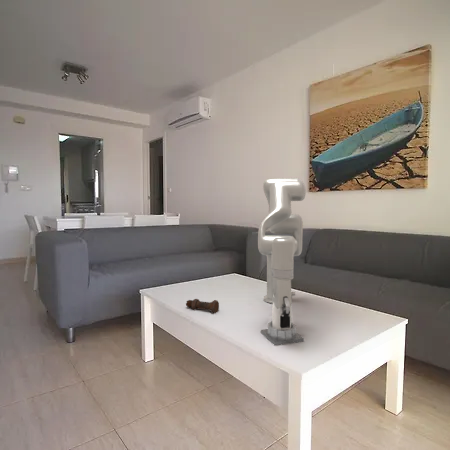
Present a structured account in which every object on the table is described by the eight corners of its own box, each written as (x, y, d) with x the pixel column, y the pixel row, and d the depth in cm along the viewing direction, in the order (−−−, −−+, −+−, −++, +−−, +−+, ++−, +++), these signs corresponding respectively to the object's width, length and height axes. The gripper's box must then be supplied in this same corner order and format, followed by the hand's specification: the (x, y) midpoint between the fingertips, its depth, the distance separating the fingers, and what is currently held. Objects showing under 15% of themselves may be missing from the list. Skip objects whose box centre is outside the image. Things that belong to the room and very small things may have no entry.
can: (268, 332, 107) (268, 299, 107) (281, 328, 111) (281, 296, 111) (281, 338, 102) (282, 303, 102) (294, 334, 106) (295, 300, 105)
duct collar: (287, 329, 113) (287, 318, 113) (303, 341, 103) (304, 329, 103) (260, 332, 110) (260, 321, 110) (274, 345, 100) (274, 333, 99)
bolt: (188, 311, 139) (217, 315, 132) (182, 308, 135) (212, 312, 128) (191, 298, 141) (220, 301, 135) (186, 295, 137) (215, 298, 131)
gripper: (267, 268, 114) (266, 313, 115) (276, 279, 96) (276, 332, 97) (286, 268, 114) (286, 313, 115) (300, 279, 97) (299, 332, 98)
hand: (281, 322), depth 106 cm, fingers open, 9 cm apart
